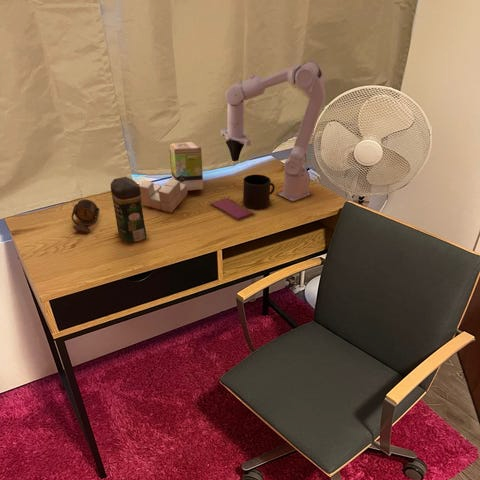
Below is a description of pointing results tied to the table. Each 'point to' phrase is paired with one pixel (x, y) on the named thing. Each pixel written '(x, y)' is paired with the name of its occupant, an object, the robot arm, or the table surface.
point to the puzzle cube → (162, 194)
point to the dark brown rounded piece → (85, 215)
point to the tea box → (187, 164)
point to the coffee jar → (128, 209)
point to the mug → (257, 191)
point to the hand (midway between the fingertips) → (235, 160)
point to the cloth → (232, 209)
